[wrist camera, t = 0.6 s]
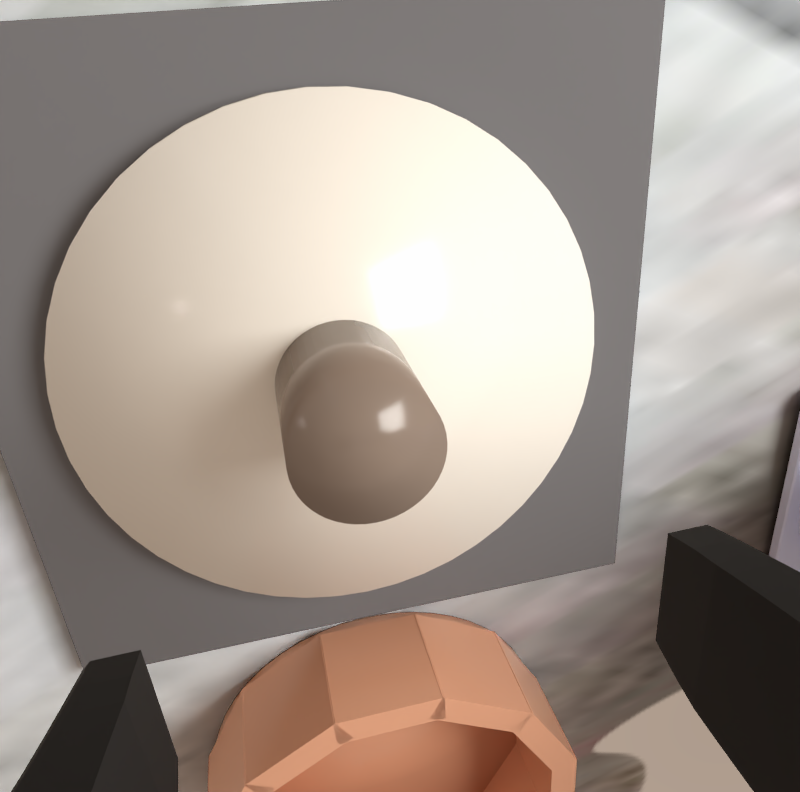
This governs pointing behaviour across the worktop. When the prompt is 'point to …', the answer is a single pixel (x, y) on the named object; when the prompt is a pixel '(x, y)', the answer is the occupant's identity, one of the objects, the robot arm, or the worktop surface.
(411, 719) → the bowl
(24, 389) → the mat
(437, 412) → the lid
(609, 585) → the worktop surface
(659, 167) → the worktop surface
